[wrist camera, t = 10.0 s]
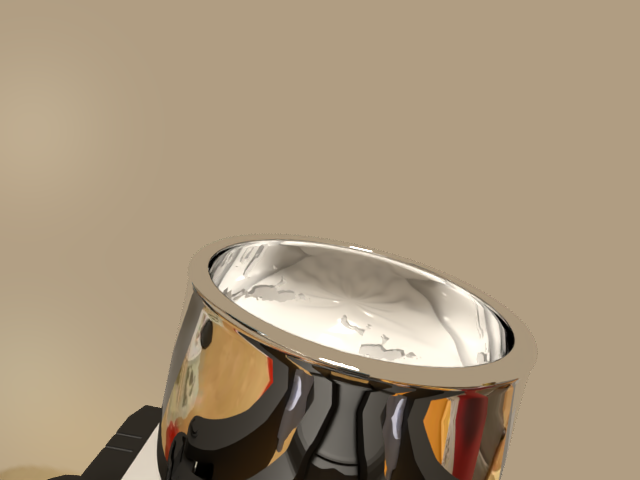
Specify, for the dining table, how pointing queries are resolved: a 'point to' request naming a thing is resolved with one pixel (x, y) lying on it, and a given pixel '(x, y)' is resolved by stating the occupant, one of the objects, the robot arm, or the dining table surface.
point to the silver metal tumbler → (337, 368)
